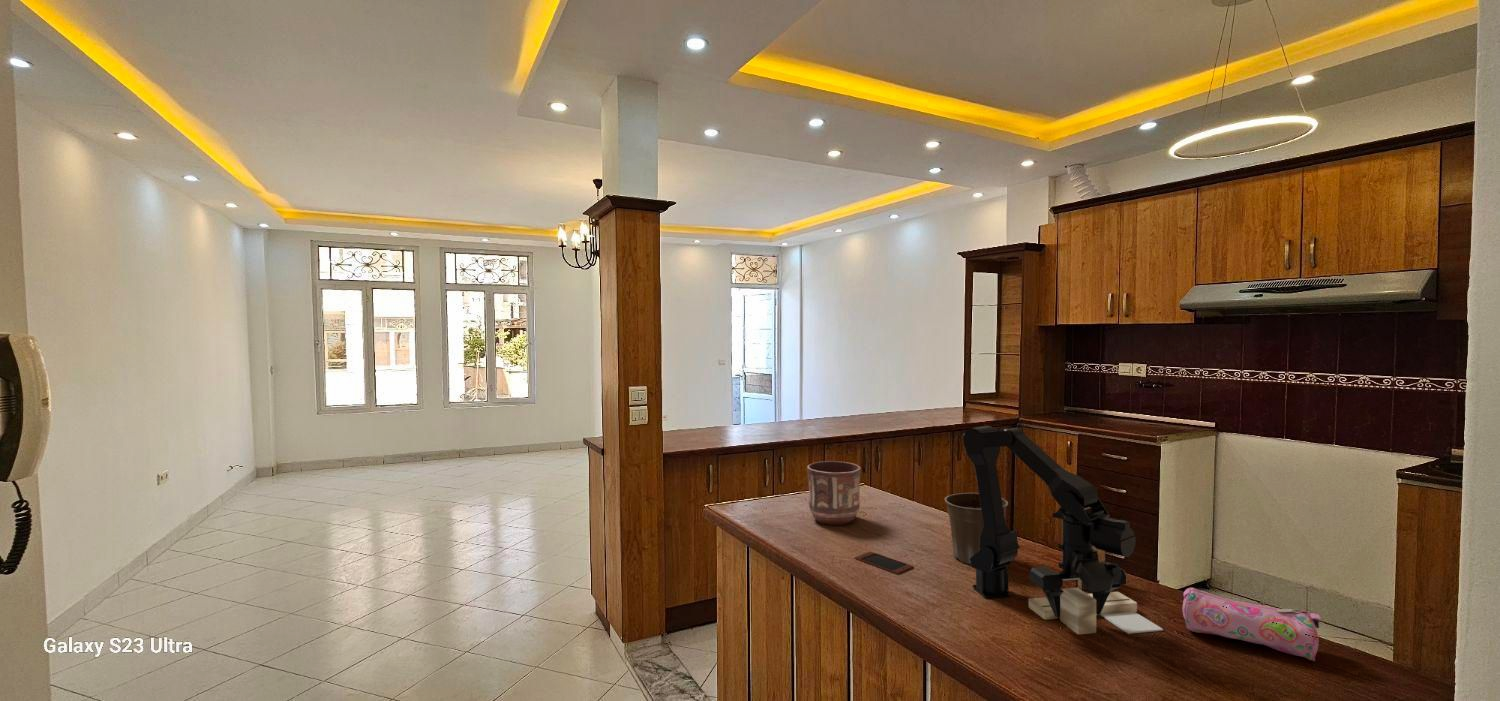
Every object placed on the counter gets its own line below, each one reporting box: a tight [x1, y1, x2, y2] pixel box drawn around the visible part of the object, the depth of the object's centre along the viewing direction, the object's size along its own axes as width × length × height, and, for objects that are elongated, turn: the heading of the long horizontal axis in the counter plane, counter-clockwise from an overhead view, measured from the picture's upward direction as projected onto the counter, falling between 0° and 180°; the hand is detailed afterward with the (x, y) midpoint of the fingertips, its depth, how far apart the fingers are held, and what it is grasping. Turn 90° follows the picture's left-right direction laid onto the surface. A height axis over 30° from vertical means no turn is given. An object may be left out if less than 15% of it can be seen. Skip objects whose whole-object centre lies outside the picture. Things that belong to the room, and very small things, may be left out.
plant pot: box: [944, 492, 1009, 566], centre depth 171 cm, size 16×16×16 cm
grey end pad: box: [1100, 612, 1164, 635], centre depth 133 cm, size 8×8×1 cm
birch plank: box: [1028, 591, 1138, 620], centre depth 140 cm, size 22×6×2 cm, turn 98°
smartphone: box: [854, 551, 915, 576], centre depth 169 cm, size 7×1×15 cm
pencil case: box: [1182, 587, 1322, 662], centre depth 124 cm, size 21×9×9 cm, turn 52°
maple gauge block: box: [1059, 587, 1097, 635], centre depth 132 cm, size 4×6×7 cm, turn 8°
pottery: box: [806, 460, 862, 526], centre depth 207 cm, size 18×18×18 cm
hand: (1077, 615), depth 132 cm, fingers open, 9 cm apart
